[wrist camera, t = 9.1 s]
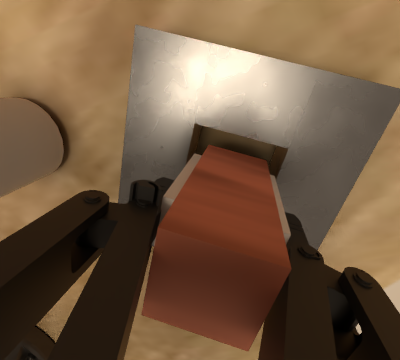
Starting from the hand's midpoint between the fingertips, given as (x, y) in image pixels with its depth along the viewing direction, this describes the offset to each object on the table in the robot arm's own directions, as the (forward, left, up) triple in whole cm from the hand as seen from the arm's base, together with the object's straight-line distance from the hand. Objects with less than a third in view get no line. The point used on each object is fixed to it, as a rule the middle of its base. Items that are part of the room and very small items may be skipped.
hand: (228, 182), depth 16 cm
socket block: (0, 0, -5) cm, 5 cm away
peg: (0, 0, -1) cm, 1 cm away
